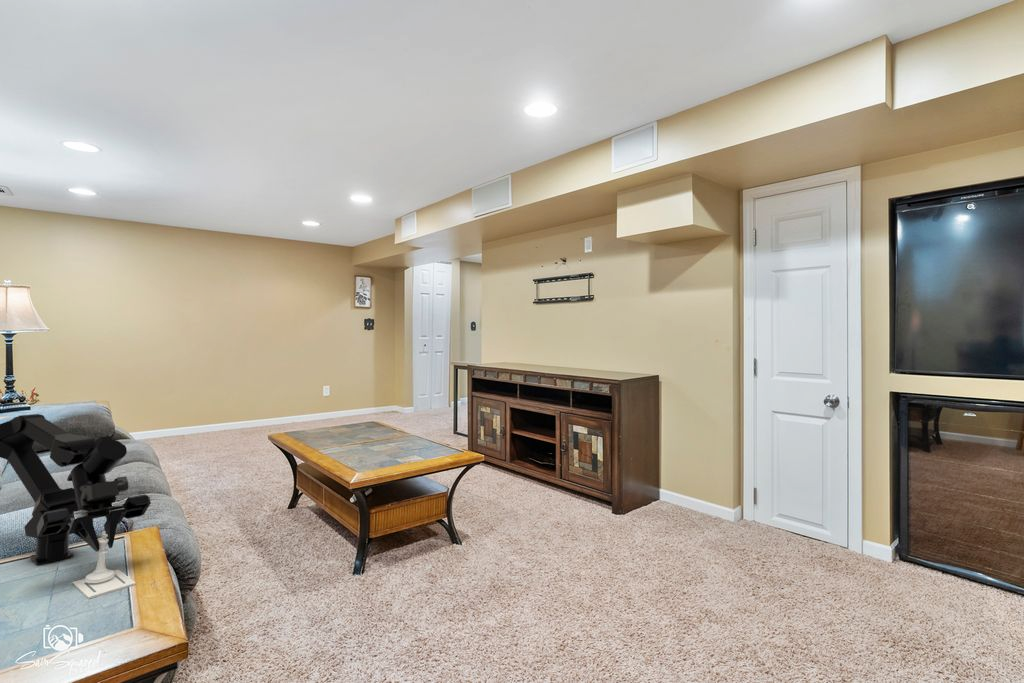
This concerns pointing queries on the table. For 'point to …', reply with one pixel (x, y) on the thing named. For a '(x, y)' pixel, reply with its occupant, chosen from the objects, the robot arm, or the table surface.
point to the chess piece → (100, 563)
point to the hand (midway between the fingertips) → (104, 548)
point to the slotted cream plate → (104, 585)
